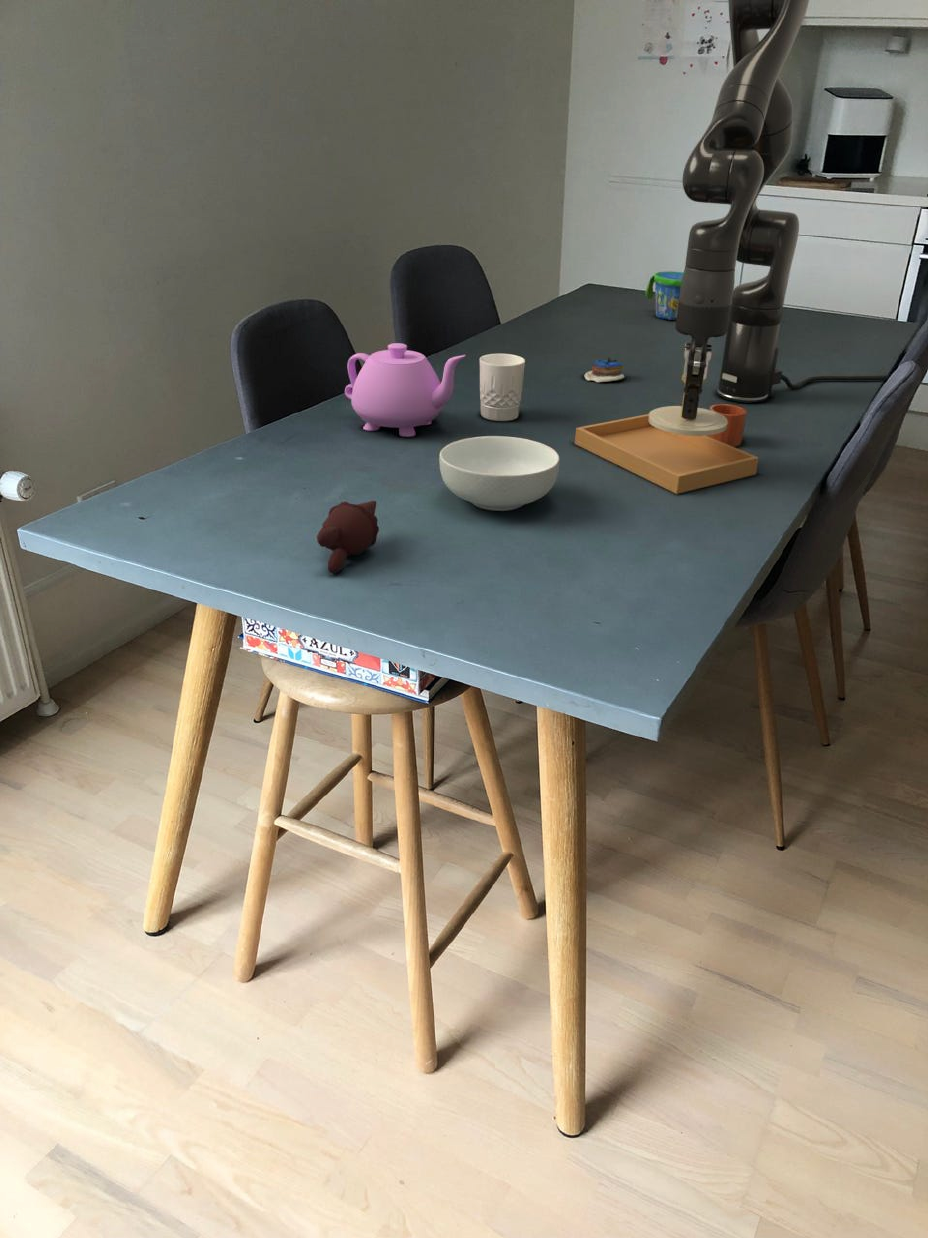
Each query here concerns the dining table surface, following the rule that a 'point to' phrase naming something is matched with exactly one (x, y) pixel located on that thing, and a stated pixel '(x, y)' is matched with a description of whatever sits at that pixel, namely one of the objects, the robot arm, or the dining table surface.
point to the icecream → (348, 531)
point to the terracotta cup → (730, 424)
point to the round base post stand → (687, 420)
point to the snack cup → (665, 293)
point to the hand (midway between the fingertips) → (689, 414)
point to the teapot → (398, 389)
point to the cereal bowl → (499, 471)
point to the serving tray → (666, 454)
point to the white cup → (501, 386)
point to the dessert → (605, 371)
